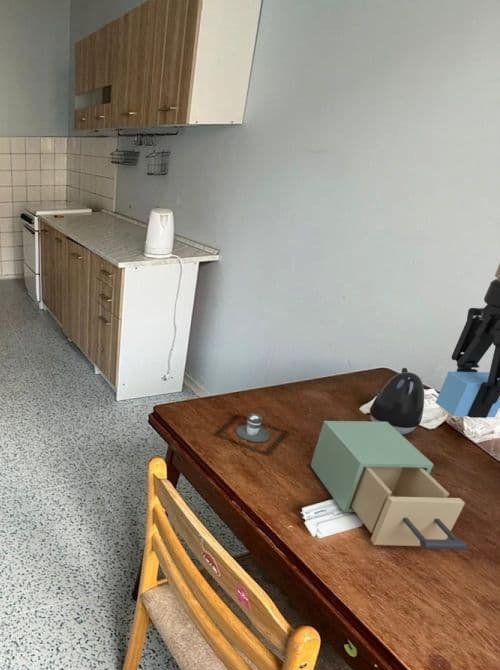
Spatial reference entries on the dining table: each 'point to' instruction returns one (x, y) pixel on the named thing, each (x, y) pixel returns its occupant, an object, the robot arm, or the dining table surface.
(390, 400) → the black bell
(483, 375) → the blue cuboid
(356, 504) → the drawer
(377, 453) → the cabinet
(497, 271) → the robot arm
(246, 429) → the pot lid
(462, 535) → the dining table surface
